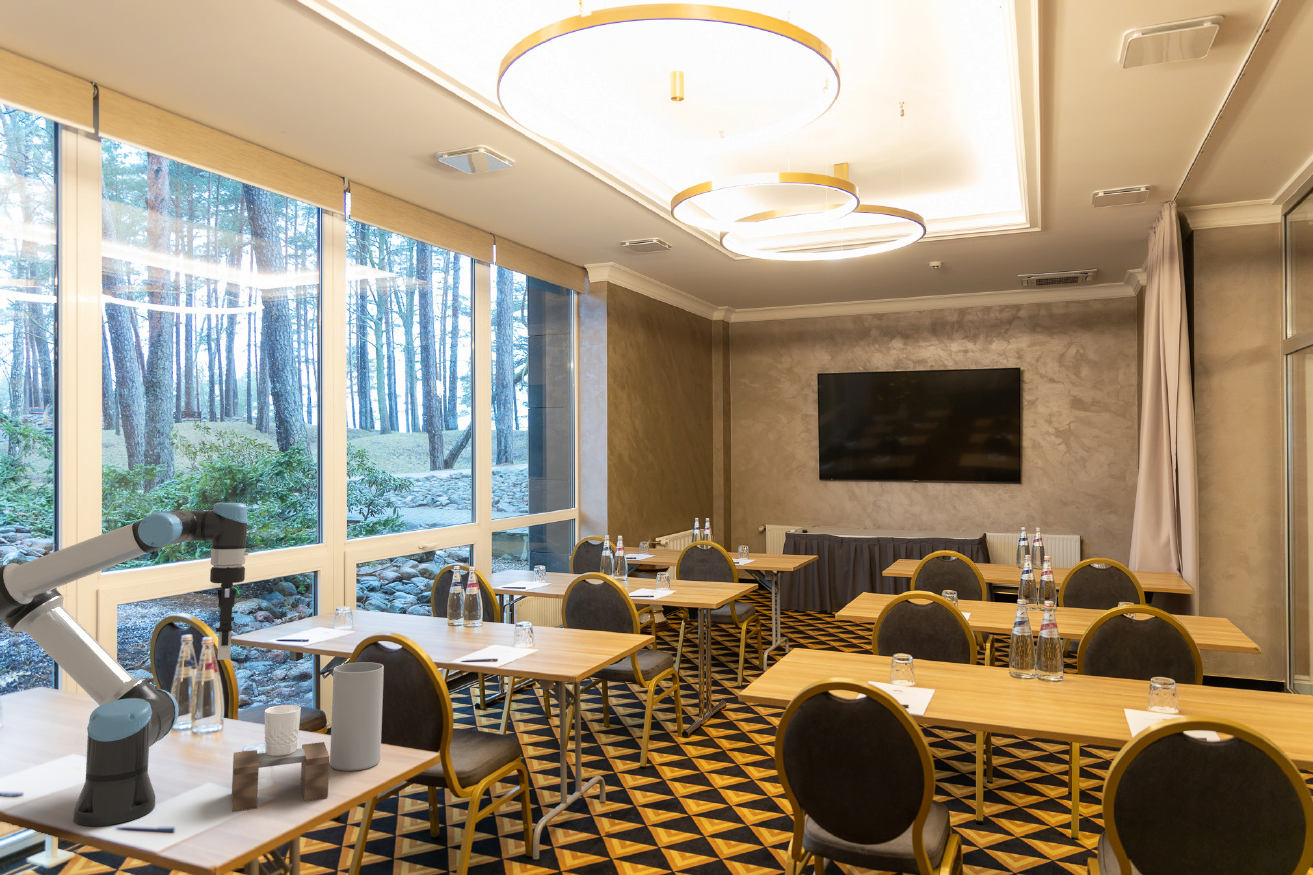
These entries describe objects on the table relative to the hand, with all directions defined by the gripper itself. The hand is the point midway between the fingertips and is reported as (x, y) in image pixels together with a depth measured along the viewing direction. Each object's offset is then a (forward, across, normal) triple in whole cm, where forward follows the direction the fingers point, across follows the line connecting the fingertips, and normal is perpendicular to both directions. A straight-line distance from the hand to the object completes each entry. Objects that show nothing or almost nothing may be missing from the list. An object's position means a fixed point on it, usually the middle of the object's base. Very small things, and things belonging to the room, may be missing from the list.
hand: (223, 653), depth 201 cm
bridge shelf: (+32, -12, -13) cm, 36 cm away
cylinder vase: (+32, +4, -32) cm, 45 cm away
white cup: (+22, -10, -13) cm, 28 cm away
